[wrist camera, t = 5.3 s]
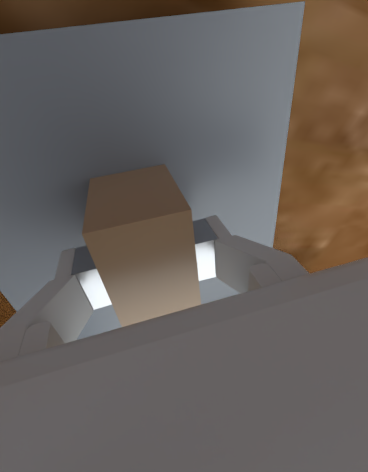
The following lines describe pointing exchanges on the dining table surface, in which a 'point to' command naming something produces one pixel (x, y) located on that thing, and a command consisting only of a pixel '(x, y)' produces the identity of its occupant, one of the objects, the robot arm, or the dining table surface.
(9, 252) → the cover
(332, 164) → the dining table surface
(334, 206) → the dining table surface
